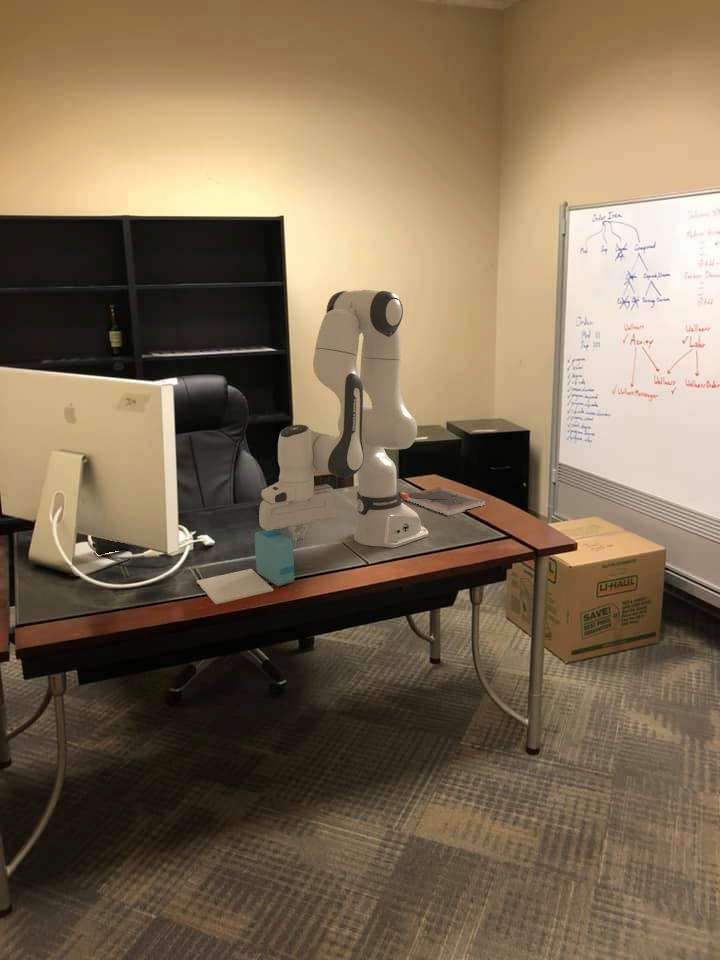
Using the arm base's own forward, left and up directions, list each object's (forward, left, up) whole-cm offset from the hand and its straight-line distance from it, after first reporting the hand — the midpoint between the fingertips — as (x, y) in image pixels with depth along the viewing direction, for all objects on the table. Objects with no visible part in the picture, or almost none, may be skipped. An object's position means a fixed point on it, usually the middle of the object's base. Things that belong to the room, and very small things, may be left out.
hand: (298, 539), depth 193 cm
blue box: (+7, 0, -9) cm, 12 cm away
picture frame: (-67, -28, -10) cm, 73 cm away
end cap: (+40, -41, -10) cm, 58 cm away
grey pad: (+18, -1, -9) cm, 20 cm away
